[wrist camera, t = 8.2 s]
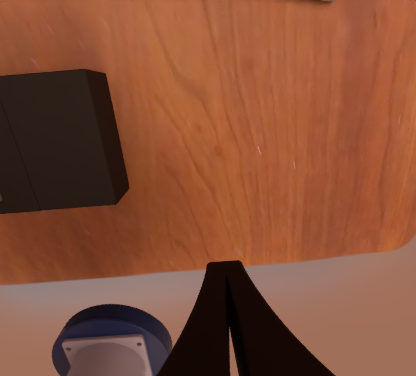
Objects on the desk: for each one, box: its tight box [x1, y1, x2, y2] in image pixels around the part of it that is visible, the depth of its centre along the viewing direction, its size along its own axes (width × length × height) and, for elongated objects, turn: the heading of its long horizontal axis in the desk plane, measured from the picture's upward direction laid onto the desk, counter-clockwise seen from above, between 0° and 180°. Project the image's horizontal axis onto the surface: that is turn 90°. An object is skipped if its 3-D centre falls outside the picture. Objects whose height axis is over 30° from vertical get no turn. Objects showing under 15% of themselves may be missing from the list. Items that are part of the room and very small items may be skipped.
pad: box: [0, 69, 129, 210], centre depth 16 cm, size 8×5×3 cm, turn 4°
